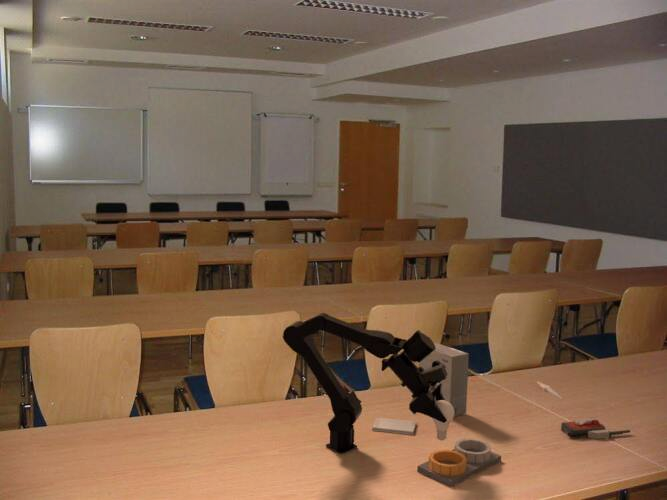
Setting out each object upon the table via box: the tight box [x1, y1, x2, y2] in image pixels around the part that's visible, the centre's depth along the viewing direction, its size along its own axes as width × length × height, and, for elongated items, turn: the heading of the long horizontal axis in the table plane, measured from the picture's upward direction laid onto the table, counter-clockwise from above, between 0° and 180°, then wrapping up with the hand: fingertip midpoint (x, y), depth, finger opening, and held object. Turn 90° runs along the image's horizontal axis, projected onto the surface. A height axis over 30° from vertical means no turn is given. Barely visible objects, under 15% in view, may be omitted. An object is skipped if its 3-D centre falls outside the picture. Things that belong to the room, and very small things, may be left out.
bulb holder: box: [417, 438, 502, 487], centre depth 183 cm, size 22×11×4 cm, turn 133°
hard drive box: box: [418, 342, 470, 417], centre depth 223 cm, size 16×8×20 cm, turn 34°
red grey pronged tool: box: [560, 417, 631, 440], centre depth 207 cm, size 9×4×20 cm
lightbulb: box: [431, 400, 454, 441], centre depth 184 cm, size 6×6×11 cm
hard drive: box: [371, 417, 417, 436], centre depth 208 cm, size 2×8×12 cm
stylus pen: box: [536, 381, 564, 400], centre depth 241 cm, size 15×3×2 cm, turn 18°
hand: (447, 417), depth 183 cm, fingers closed on lightbulb, 6 cm apart
